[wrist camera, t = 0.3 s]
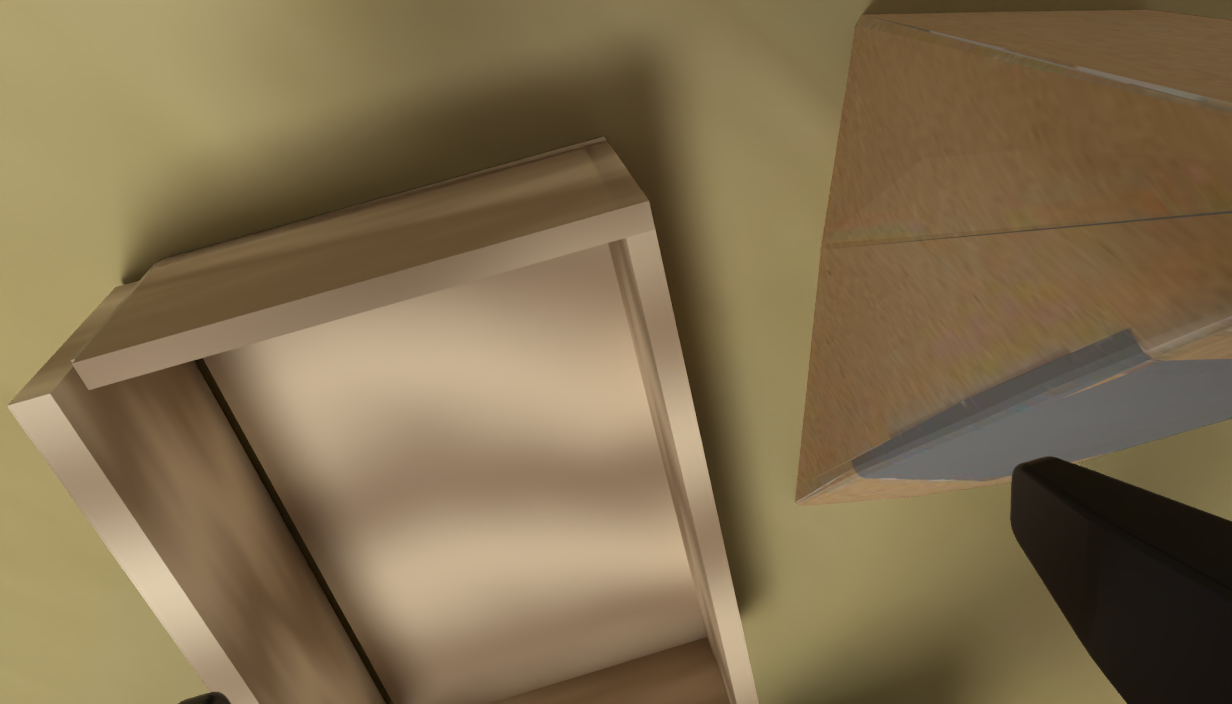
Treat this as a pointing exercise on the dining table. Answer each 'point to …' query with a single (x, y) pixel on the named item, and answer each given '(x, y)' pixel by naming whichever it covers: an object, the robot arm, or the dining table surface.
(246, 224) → the dining table surface
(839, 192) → the sandwich container
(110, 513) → the flap
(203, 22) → the dining table surface
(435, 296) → the carton
